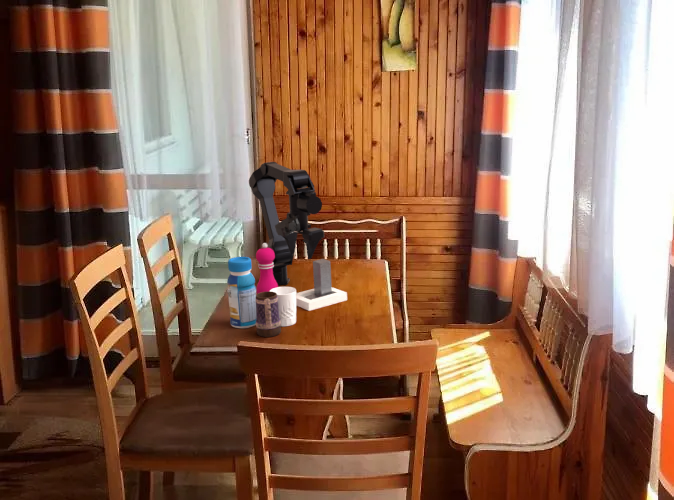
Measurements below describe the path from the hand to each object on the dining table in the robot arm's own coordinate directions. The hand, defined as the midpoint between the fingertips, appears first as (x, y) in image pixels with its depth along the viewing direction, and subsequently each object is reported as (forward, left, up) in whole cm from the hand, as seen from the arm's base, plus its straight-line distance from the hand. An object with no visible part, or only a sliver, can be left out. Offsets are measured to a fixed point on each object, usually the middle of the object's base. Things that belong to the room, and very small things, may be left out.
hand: (301, 256), depth 244 cm
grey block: (+8, +6, -13) cm, 16 cm away
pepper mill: (+9, -10, -13) cm, 19 cm away
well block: (+8, +6, -13) cm, 16 cm away
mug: (+37, -5, -13) cm, 40 cm away
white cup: (+27, -2, -13) cm, 30 cm away
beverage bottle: (+28, -14, -13) cm, 34 cm away
